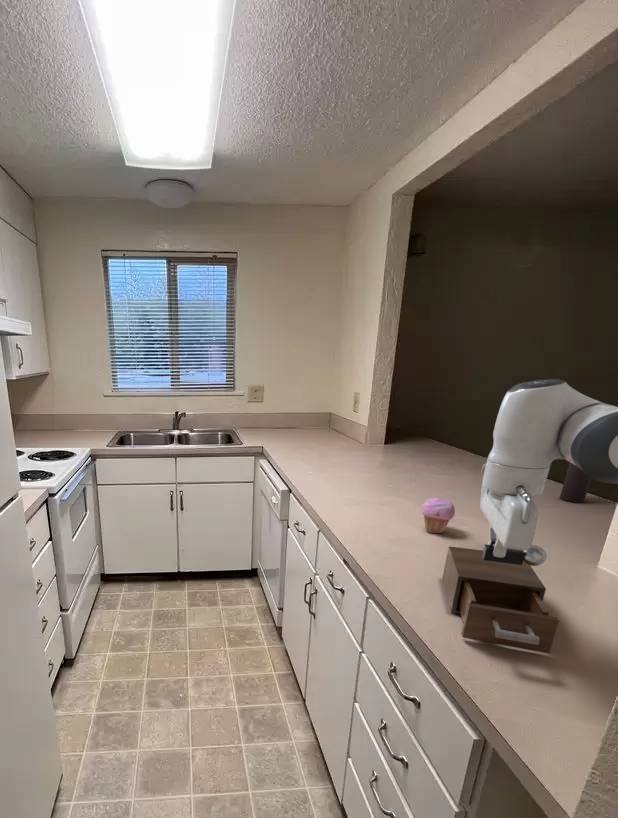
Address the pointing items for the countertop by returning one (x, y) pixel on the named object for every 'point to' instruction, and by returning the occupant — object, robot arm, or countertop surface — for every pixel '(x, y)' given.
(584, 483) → the bottle
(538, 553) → the scoop
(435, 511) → the cupcake
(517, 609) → the drawer
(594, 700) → the countertop surface
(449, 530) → the countertop surface
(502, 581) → the cabinet
